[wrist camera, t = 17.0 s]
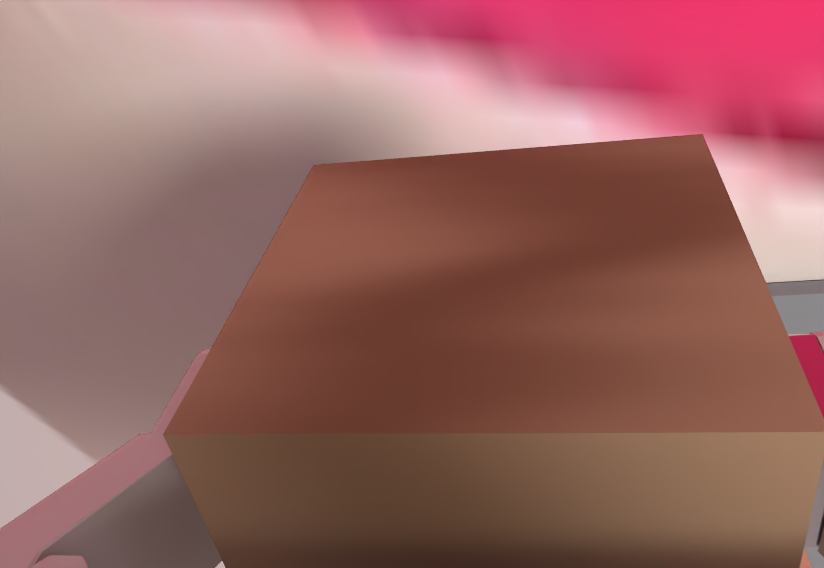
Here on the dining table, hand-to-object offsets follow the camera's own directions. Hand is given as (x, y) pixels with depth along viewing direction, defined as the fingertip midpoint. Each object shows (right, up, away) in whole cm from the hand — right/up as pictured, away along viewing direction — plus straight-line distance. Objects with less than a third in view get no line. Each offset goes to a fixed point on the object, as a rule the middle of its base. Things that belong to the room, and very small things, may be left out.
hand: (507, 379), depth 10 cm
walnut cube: (0, +1, +1) cm, 2 cm away
